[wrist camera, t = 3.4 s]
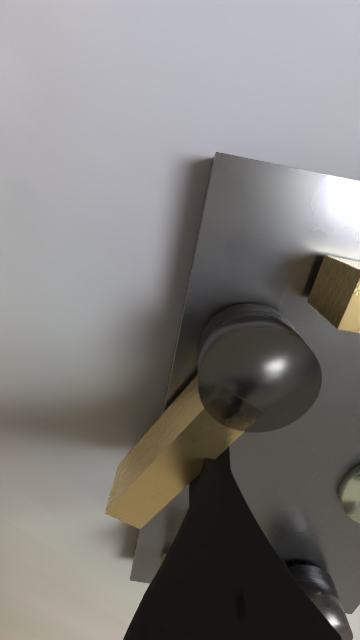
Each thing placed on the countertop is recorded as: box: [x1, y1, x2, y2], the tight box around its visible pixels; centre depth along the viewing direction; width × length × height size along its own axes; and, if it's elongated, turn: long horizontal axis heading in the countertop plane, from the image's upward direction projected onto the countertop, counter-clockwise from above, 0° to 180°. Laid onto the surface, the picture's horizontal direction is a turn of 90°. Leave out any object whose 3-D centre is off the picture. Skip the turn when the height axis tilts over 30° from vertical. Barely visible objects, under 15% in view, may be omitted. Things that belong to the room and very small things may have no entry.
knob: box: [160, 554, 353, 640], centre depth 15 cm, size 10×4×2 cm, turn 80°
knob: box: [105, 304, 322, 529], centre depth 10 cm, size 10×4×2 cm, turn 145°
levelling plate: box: [130, 152, 360, 614], centre depth 13 cm, size 14×23×2 cm, turn 170°
